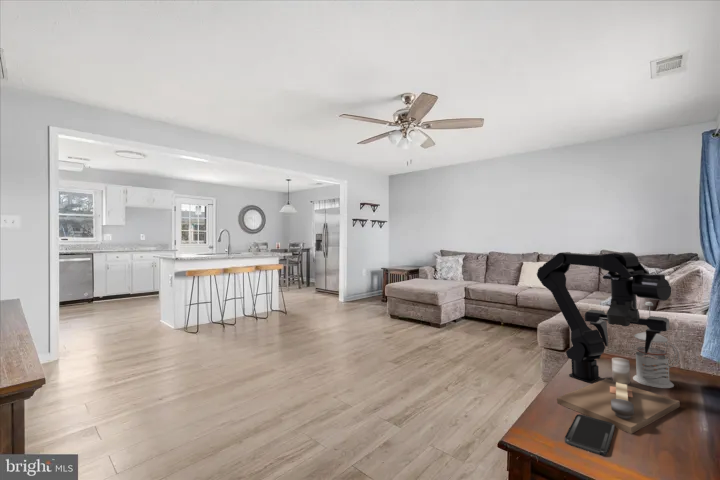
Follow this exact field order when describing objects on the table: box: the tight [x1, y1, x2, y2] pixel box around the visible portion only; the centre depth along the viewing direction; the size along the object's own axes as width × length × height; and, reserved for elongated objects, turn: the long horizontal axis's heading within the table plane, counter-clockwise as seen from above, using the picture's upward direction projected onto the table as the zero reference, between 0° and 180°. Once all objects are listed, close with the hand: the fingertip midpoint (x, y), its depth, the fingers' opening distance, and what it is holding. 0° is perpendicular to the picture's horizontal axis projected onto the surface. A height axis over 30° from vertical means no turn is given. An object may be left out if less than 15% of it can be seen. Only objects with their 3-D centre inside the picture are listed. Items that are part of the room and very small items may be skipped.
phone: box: [564, 413, 616, 457], centre depth 78 cm, size 8×1×15 cm
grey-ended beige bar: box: [611, 357, 634, 416], centre depth 89 cm, size 20×4×8 cm, turn 142°
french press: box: [632, 301, 680, 389], centre depth 105 cm, size 10×12×25 cm
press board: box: [556, 378, 681, 435], centre depth 91 cm, size 18×25×2 cm
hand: (625, 349), depth 97 cm, fingers open, 9 cm apart
